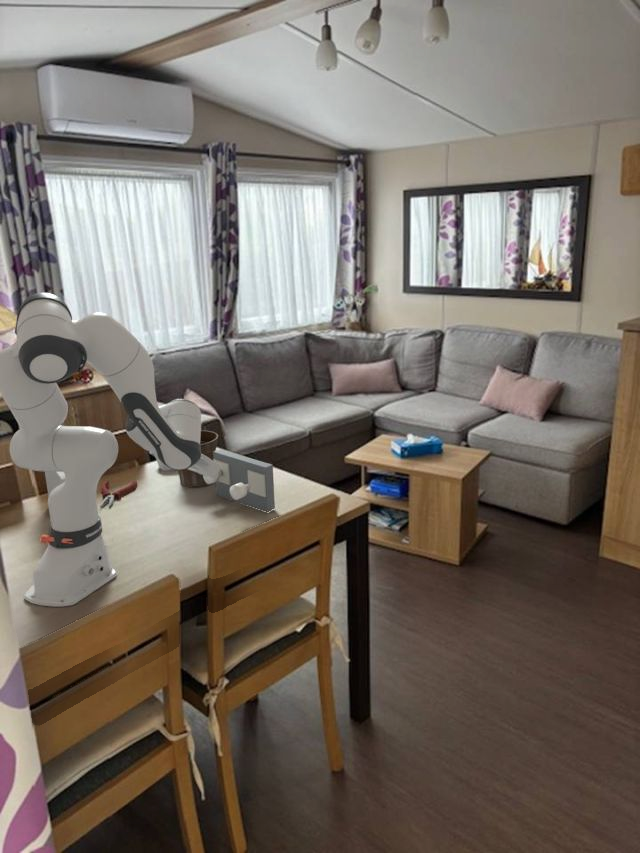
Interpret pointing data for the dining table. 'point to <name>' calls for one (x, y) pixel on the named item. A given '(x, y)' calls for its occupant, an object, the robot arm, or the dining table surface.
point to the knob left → (212, 480)
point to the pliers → (115, 493)
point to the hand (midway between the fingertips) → (205, 473)
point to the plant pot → (207, 448)
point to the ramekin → (163, 465)
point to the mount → (246, 479)
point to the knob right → (239, 490)
